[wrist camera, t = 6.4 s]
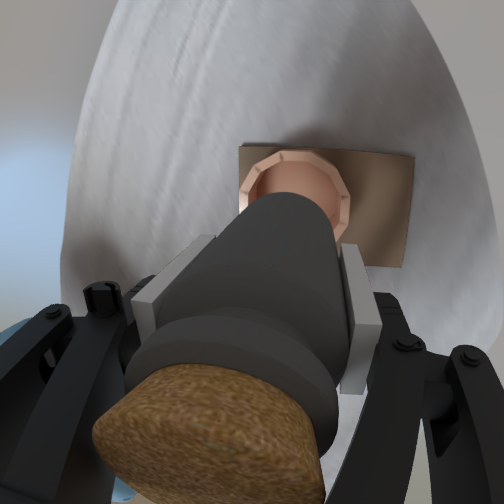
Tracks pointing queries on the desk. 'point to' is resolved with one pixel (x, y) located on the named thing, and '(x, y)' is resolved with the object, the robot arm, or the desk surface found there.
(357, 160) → the board
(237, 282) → the bottle
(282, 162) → the terracotta bowl
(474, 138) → the desk surface
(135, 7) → the desk surface
